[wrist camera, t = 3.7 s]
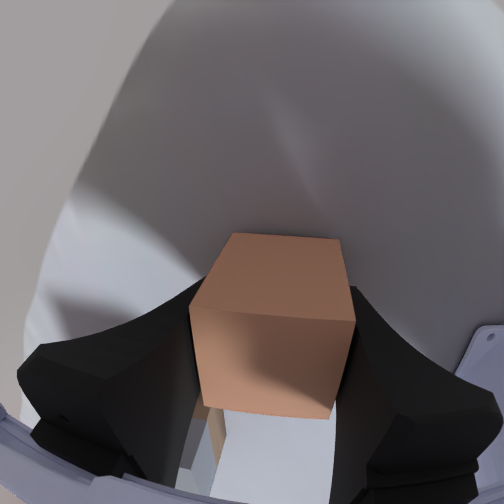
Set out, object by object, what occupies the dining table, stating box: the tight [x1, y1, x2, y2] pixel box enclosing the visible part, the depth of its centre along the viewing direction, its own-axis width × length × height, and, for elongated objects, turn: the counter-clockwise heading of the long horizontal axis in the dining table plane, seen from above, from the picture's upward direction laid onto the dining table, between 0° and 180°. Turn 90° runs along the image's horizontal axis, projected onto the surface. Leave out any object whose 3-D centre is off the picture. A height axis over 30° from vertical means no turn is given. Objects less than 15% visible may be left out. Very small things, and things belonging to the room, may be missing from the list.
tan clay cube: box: [189, 233, 356, 419], centre depth 10 cm, size 4×4×5 cm
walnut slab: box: [192, 391, 226, 466], centre depth 17 cm, size 6×6×3 cm
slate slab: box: [175, 418, 217, 497], centre depth 14 cm, size 6×6×3 cm
